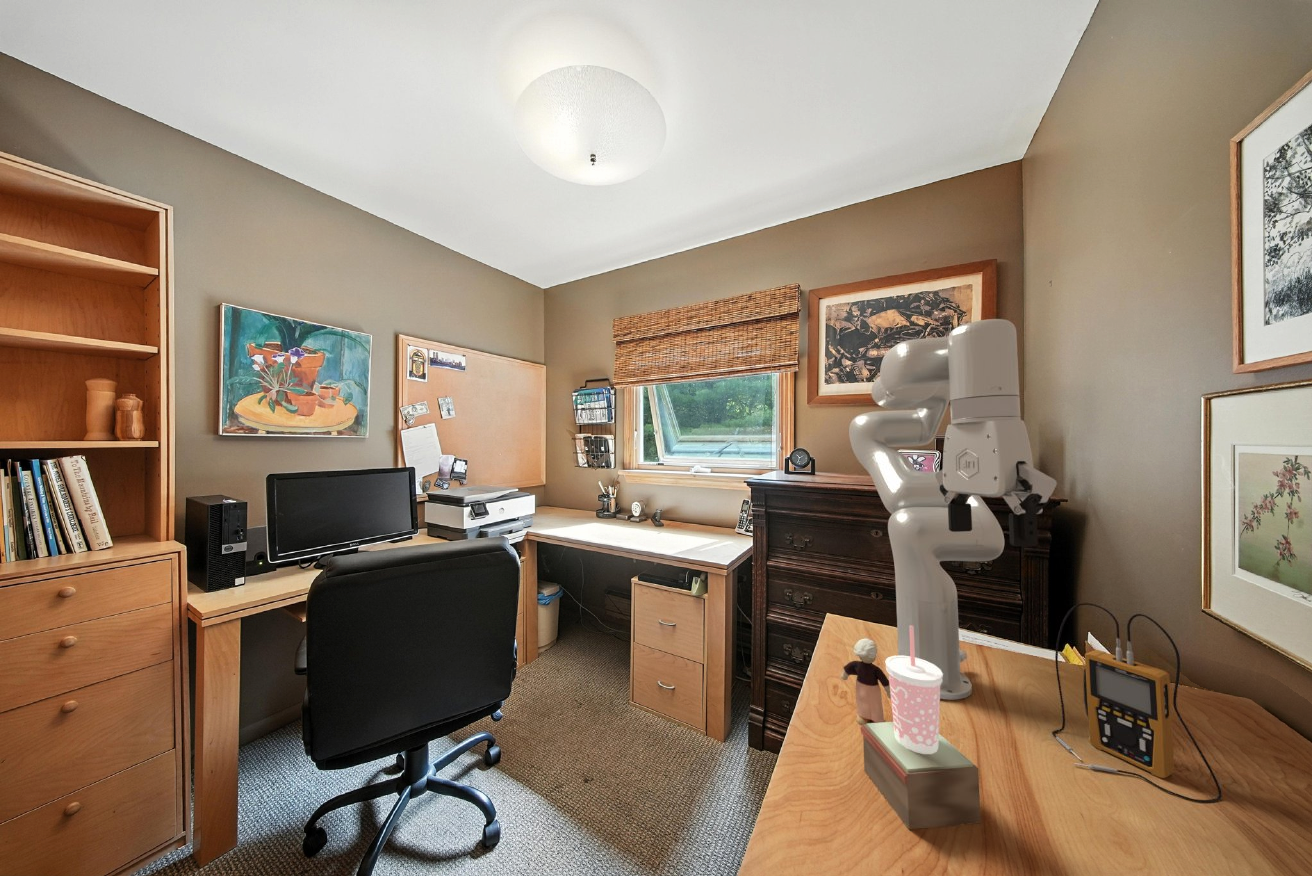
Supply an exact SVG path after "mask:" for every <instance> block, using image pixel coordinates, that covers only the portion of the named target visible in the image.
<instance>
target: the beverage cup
mask: <svg viewBox="0 0 1312 876" xmlns="http://www.w3.org/2000/svg"><path fill="white" fill-rule="evenodd" d="M909 630H910V656H911V657H910V656H904V655H902V656H898V655H891V656H889V657H887V658H886V659H885V669H886V672H887V673H888V680H889V684H890V694H891V699H890V700H891V704H890V705H891V711H892V722H893V724H894V733H895V738H896V740H897V741H898V742H899V743H900V744H901V745H902V746H904V747H905V748H907V749H909V750H912V751H914V752H917V753H921V754H933V753H935V752H937V750H938V741H939V734H940V732H939V731H940V705H941V702H940V701H941V699H940V685H941V683H942V681H943V679H942V677H943V673H942V671H941V670H940V669H939V668H938V667H937V666H935V665H934V664H932V663H930V662H928V661H925V660H922V659H919V658H916V657H915V646H914V626H911V625H910V626H909Z"/></svg>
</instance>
